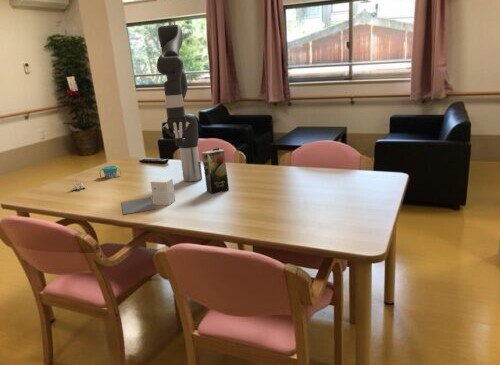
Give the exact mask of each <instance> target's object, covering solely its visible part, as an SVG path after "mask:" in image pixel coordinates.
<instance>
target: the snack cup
mask: <svg viewBox="0 0 500 365" xmlns="http://www.w3.org/2000/svg"><path fill="white" fill-rule="evenodd" d="M117 169H118V170H119V174H120V175H122V169H121V168H120V167H119V166H117V165H108V166H104V167H102V168H101V169H100V171H99V176H100V178H102V175H101V174H102V173H101V171H103V173H104V177H105V178H106V179H115V178H117V172H118V170H117Z"/></svg>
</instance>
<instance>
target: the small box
mask: <svg viewBox="0 0 500 365" xmlns="http://www.w3.org/2000/svg"><path fill="white" fill-rule="evenodd" d="M150 186H151V187H150V188H151V194H152V202H153V205H154V206H155V205H159V206H170V205H171V204H173V203H174V202H176V196H175V188H174V180H173V178H155V179H154V180H151V181H150Z"/></svg>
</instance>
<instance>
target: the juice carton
mask: <svg viewBox="0 0 500 365" xmlns="http://www.w3.org/2000/svg"><path fill="white" fill-rule="evenodd" d="M201 154H202V165H203V170H204V171H203V172H204V177H205V178H204V179H205V186H206V192H208V193H210V194H211V195H213V194H214V195H215V194H217V193H221V192H222V193H224V192H226V191H230V190H229V188H230V187H229V179H228V178H229V177H228V173H227V165H226V164H227V163H226V156H225V150H224V149H220V148H219V147H214V148H212V150H208V151H203V152H201Z"/></svg>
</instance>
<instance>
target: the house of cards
mask: <svg viewBox="0 0 500 365" xmlns="http://www.w3.org/2000/svg"><path fill="white" fill-rule="evenodd" d="M78 181H80V180H79V179H77V180H76V182H78ZM71 189H72V190H74V191H77V192H78V191H79V190H83V189H85V186H84V185H83V183H74V184H73V186H72V188H71Z"/></svg>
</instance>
